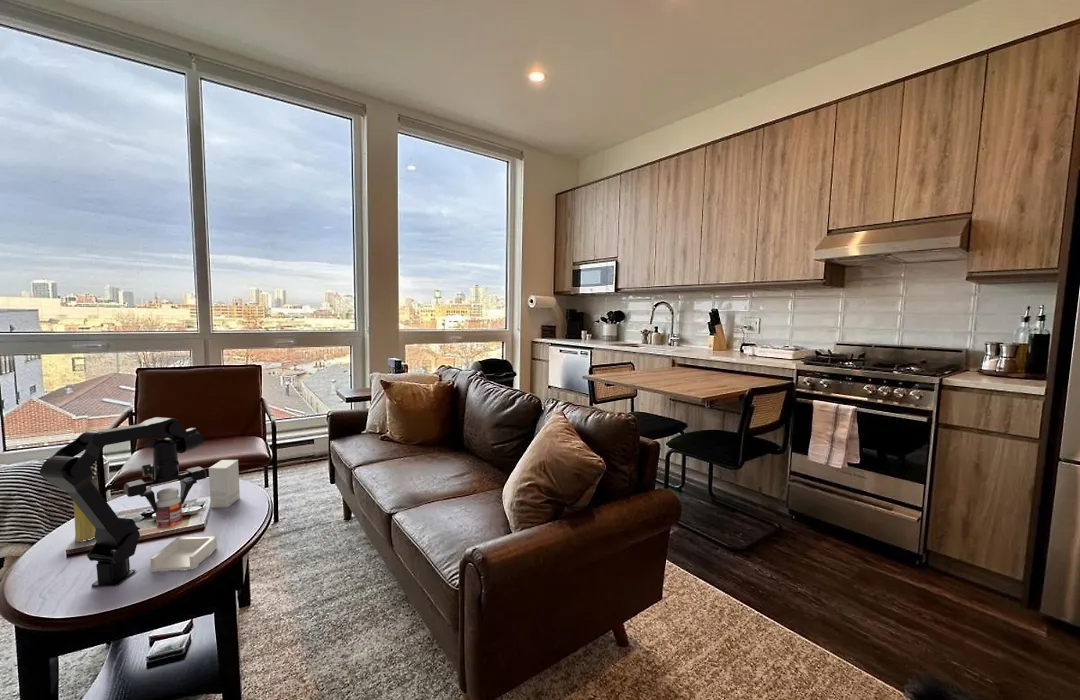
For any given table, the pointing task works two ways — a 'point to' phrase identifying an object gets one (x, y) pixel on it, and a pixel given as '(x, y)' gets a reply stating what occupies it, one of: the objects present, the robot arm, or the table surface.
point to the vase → (82, 525)
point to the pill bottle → (168, 509)
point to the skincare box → (224, 483)
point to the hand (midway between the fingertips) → (168, 507)
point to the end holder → (183, 553)
